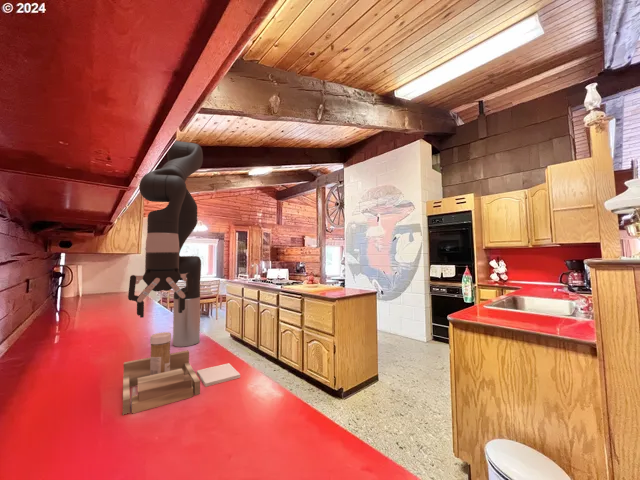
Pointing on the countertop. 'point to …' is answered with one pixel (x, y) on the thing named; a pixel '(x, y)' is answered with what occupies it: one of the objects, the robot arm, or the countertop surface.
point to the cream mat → (217, 374)
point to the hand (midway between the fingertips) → (161, 314)
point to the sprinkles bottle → (160, 353)
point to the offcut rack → (159, 383)
